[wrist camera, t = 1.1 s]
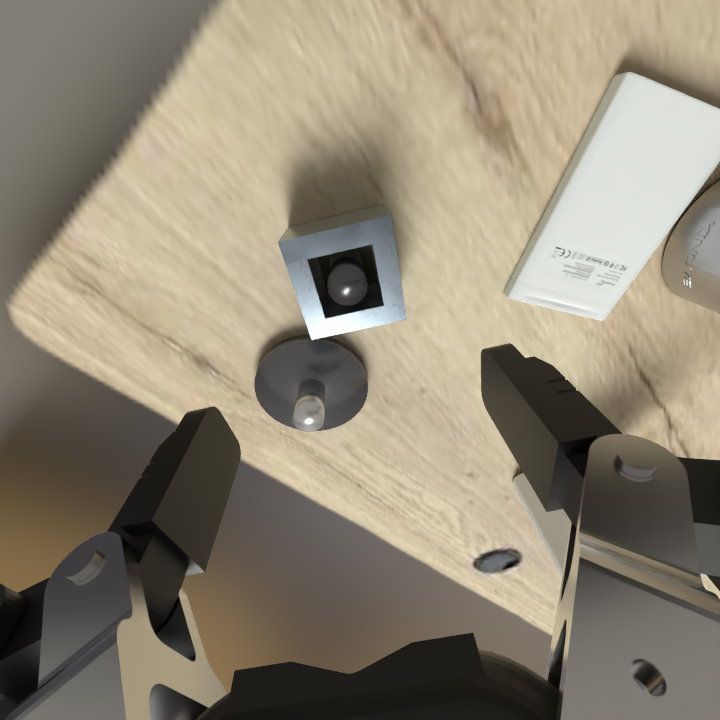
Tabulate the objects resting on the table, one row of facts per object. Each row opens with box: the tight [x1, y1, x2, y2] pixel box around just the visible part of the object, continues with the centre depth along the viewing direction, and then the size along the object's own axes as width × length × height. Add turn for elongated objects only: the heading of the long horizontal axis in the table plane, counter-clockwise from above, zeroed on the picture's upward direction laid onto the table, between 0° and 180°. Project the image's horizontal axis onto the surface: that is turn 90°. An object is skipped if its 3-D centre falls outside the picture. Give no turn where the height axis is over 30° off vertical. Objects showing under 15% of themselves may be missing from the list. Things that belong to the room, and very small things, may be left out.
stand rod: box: [328, 249, 367, 305], centre depth 20 cm, size 2×2×4 cm
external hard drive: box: [503, 72, 720, 321], centre depth 21 cm, size 2×8×12 cm
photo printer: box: [513, 473, 705, 578], centre depth 29 cm, size 10×4×12 cm, turn 125°
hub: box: [255, 335, 368, 432], centre depth 25 cm, size 9×9×4 cm
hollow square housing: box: [278, 204, 407, 340], centre depth 20 cm, size 6×6×4 cm
